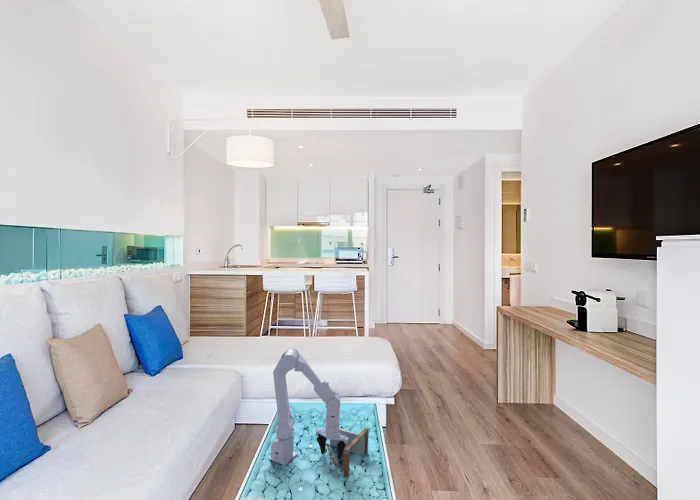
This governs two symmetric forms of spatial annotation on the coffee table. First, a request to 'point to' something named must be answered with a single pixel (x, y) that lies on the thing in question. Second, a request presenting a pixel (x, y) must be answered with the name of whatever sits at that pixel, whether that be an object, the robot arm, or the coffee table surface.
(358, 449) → the door
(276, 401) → the robot arm
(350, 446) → the door frame
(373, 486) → the coffee table surface
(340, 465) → the driftwood
